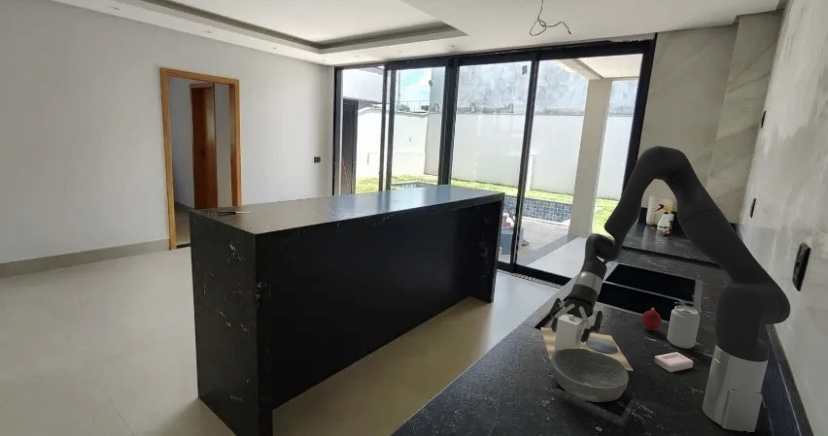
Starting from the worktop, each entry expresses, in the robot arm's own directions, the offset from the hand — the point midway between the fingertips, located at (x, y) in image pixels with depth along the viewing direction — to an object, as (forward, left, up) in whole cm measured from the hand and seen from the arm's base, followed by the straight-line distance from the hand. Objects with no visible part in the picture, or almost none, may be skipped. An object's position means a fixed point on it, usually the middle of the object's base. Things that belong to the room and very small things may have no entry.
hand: (567, 336), depth 113 cm
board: (+4, -6, -6) cm, 9 cm away
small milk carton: (+1, -1, -5) cm, 5 cm away
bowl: (-17, -2, -7) cm, 18 cm away
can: (+17, -39, -7) cm, 43 cm away
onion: (+25, -33, -7) cm, 42 cm away
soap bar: (+3, -31, -7) cm, 32 cm away
